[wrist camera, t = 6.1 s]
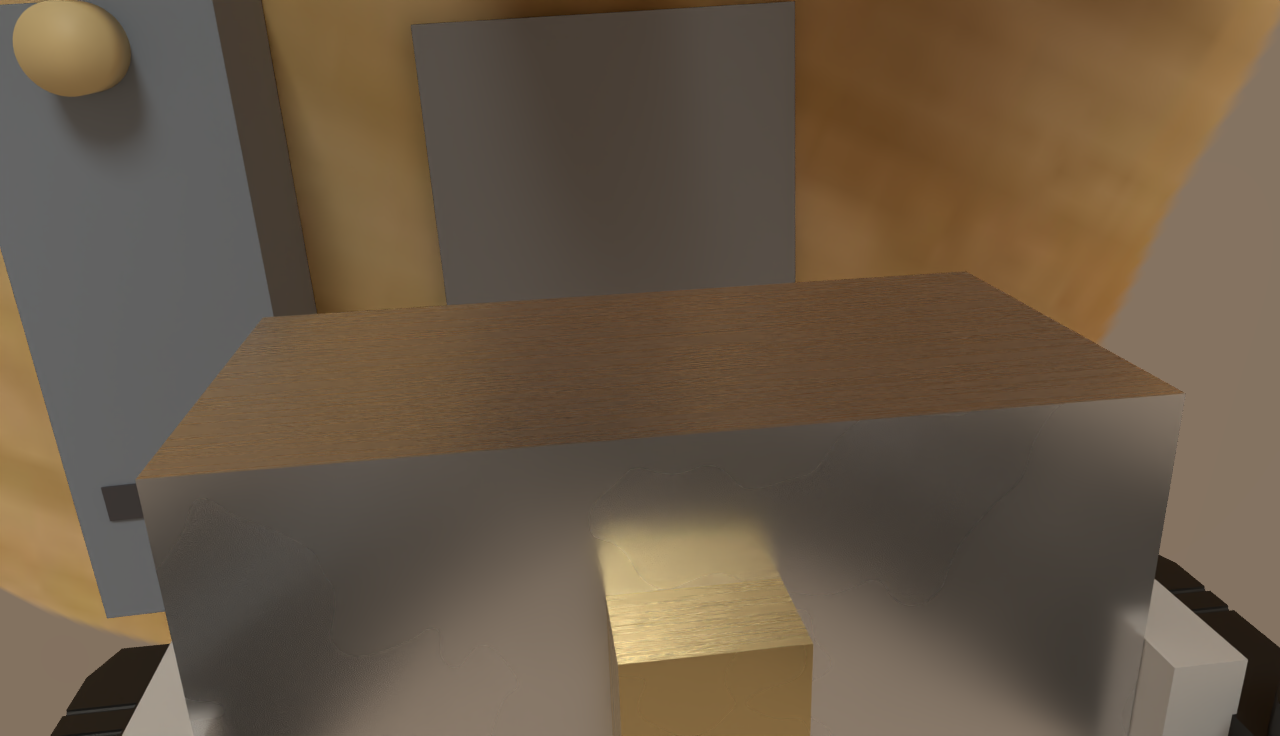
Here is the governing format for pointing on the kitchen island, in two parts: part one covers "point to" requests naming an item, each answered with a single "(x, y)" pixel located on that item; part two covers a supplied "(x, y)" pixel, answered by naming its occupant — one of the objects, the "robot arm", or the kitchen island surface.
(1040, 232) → the kitchen island surface
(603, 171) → the rubber mat
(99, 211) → the block plane
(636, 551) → the lever cap
